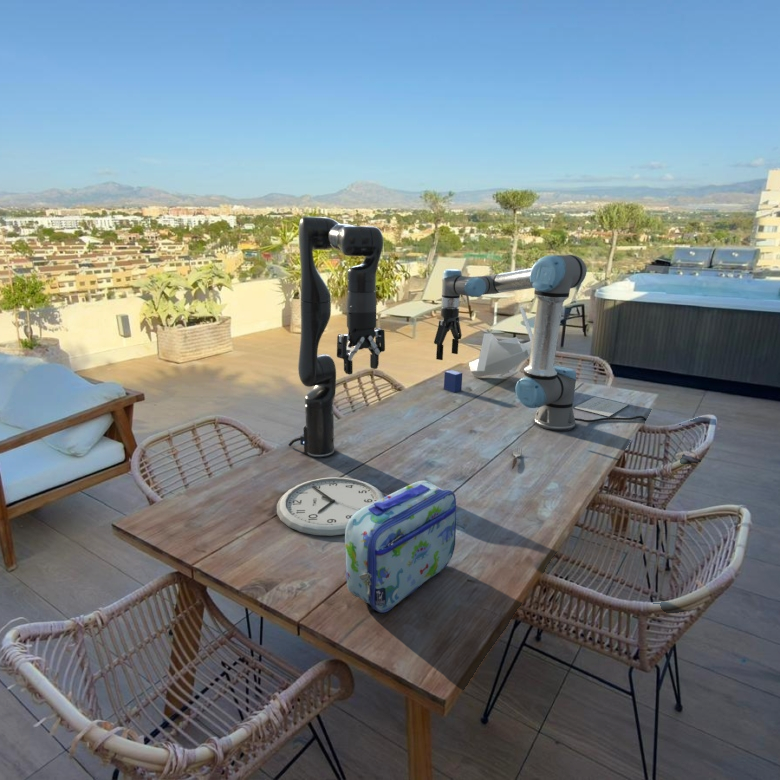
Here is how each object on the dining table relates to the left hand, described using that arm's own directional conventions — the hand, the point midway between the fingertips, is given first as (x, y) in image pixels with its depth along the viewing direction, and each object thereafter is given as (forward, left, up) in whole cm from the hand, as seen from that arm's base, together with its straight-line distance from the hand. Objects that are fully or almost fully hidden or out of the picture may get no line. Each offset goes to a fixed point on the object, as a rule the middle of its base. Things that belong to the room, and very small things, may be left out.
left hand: (361, 371), depth 137 cm
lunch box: (+19, -34, -37) cm, 54 cm away
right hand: (+10, +93, -17) cm, 95 cm away
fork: (+42, +37, -37) cm, 67 cm away
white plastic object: (+36, +128, -37) cm, 138 cm away
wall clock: (-6, -7, -37) cm, 38 cm away
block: (+11, +109, -37) cm, 116 cm away
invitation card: (+77, +104, -37) cm, 134 cm away
